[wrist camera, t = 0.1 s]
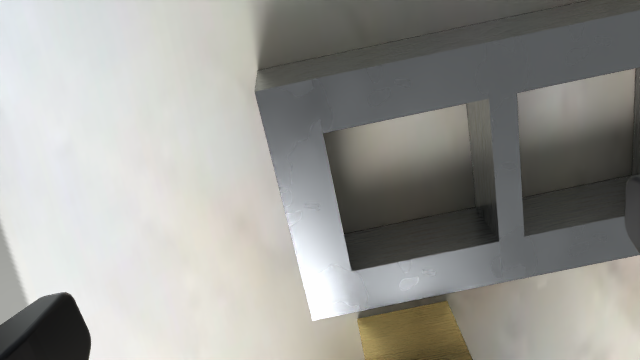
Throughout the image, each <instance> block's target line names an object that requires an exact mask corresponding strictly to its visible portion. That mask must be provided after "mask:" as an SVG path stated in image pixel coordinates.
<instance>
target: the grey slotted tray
mask: <svg viewBox="0 0 640 360" xmlns="http://www.w3.org/2000/svg"><path fill="white" fill-rule="evenodd" d="M634 68H636V79H635V106H634V133H633V160H632V175H631V176H626V177H621V178H616V179H611V180H606V181H601V182H597V183H592V184H587V185H582V186H577V187H572V188H567V189H562V190H557V191H553V192H548V193H543V194H538V195H533V196H528V197H523V198H522V184H521V165H520V146H519V127H518V108H517V93H519V92H524V91H528V90H533V89H538V88H543V87H547V86H552V85H557V84H562V83H567V82H571V81H576V80H581V79H586V78H591V77H595V76H600V75H605V74H610V73H615V72H619V71H624V70H629V69H634ZM255 95H256V99H257V103H258V107H259V111H260V115H261V119H262V123H263V127H264V131H265V134H266V138H267V142H268V146H269V150H270V154H271V158H272V162H273V166H274V170H275V174H276V178H277V182H278V186H279V190H280V194H281V198H282V202H283V206H284V210H285V214H286V218H287V222H288V226H289V230H290V234H291V237H292V241H293V245H294V249H295V253H296V257H297V261H298V265H299V269H300V273H301V277H302V281H303V285H304V289H305V293H306V297H307V301H308V305H309V309H310V313H311V317H312V321H314V320H319V319H324V318H329V317H334V316H339V315H344V314H349V313H354V312H359V311H364V310H369V309H374V308H378V307H383V306H388V305H393V304H398V303H403V302H408V301H413V300H418V299H423V298H428V297H433V296H438V295H443V294H448V293H453V292H458V291H463V290H468V289H473V288H478V287H483V286H488V285H493V284H498V283H503V282H507V281H512V280H517V279H522V278H527V277H532V276H537V275H542V274H547V273H552V272H557V271H562V270H567V269H572V268H577V267H582V266H587V265H592V264H597V263H602V262H607V261H612V260H617V259H622V258H627V257H632V256H637V255H640V253H639V252H638V250H637V249H636V247H635V246H634V244H633V243H632V242H631V240H630V238H629V237H628V234H627V232H626V229H625V192H626V183H627V181H628V179H629V178H630V177H632V176H634V175H639V174H640V0H588V1H583V2H578V3H574V4H569V5H564V6H559V7H555V8H550V9H545V10H541V11H536V12H531V13H526V14H522V15H517V16H512V17H507V18H503V19H498V20H493V21H489V22H484V23H479V24H474V25H470V26H465V27H460V28H456V29H451V30H446V31H441V32H437V33H432V34H427V35H422V36H418V37H413V38H408V39H404V40H399V41H394V42H389V43H385V44H380V45H375V46H370V47H366V48H361V49H356V50H352V51H347V52H342V53H337V54H333V55H328V56H323V57H318V58H314V59H309V60H304V61H300V62H295V63H290V64H285V65H281V66H276V67H271V68H266V69H262V70H258V71H257V78H256V85H255ZM461 104H467V115H468V125H469V136H470V147H471V158H472V169H473V180H474V191H475V202H476V207H474V208H469V209H465V210H460V211H455V212H450V213H445V214H440V215H435V216H430V217H425V218H421V219H416V220H411V221H406V222H401V223H396V224H391V225H386V226H381V227H377V228H372V229H367V230H362V231H357V232H352V233H347V234H344V233H343V228H342V223H341V218H340V213H339V208H338V204H337V199H336V194H335V189H334V184H333V179H332V175H331V170H330V165H329V160H328V155H327V150H326V146H325V141H324V136H323V133H327V132H332V131H337V130H341V129H346V128H351V127H356V126H361V125H365V124H370V123H375V122H380V121H385V120H389V119H394V118H399V117H404V116H408V115H413V114H418V113H423V112H428V111H432V110H437V109H442V108H447V107H452V106H456V105H461Z"/></svg>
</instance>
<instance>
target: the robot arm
mask: <svg viewBox="0 0 640 360" xmlns="http://www.w3.org/2000/svg"><path fill="white" fill-rule="evenodd" d="M625 229H626V232H627V234H628V237H629V238H630V240H631V242H632V243H633V244H634V246H635V247H636V249H637V250H638V252H639V253H640V174H639V175H634V176H632V177H630V178H629V179H628V181H627V183H626V192H625ZM90 349H91V337H90V333H89V330H88V328H87V326H86V324H85V321H84V319H83V317H82V315H81V313H80V311H79V308H78V306H77V304H76V302H75V300H74V298H73V297H72V296H71V295H70V294H69V293H66V292H62V293H57V294H52V295H47V296H43V297H41V298H39V299H38V300H36V301H35V302H33V303H32V304H30V305H29V306H27V307H26V308H25V309H23V310H22V311H20V312H19V313H17V314H16V315H14V316H13V317H11V318H10V319H9V320H7V321H6V322H4V323H3V324H1V325H0V360H89V355H90Z"/></svg>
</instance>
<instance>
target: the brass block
mask: <svg viewBox="0 0 640 360" xmlns="http://www.w3.org/2000/svg"><path fill="white" fill-rule="evenodd" d="M357 321H358V326H359V331H360V336H361V341H362V346H363V352H364V357H365V360H473V359H472V357H471V355H470V353H469V350H468V348H467V346H466V343H465V341H464V339H463V337H462V334H461V332H460V330H459V328H458V325H457V323H456V321H455V318H454V316H453V314H452V312H451V309H450V307H449V305H448V302H447V301H444V302H439V303H434V304H429V305H424V306H419V307H414V308H409V309H404V310H399V311H394V312H389V313H384V314H379V315H374V316H369V317H364V318H359V319H357Z"/></svg>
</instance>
